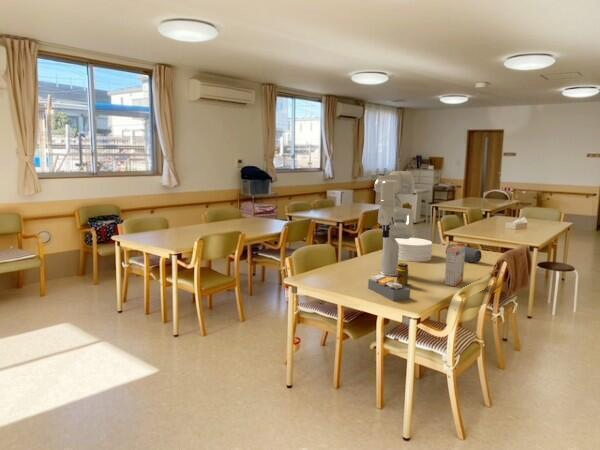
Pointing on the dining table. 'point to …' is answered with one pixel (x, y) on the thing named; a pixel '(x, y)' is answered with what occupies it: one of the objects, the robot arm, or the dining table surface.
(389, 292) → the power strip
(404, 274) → the condiment
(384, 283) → the outlet rocker
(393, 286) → the rocker outlet
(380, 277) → the outlet rocker
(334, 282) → the dining table surface
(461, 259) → the cracker box
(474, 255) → the bluetooth speaker
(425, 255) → the plate stack
